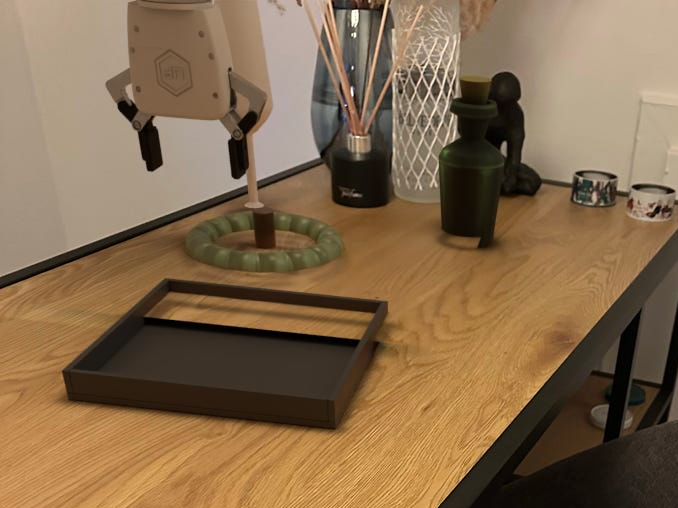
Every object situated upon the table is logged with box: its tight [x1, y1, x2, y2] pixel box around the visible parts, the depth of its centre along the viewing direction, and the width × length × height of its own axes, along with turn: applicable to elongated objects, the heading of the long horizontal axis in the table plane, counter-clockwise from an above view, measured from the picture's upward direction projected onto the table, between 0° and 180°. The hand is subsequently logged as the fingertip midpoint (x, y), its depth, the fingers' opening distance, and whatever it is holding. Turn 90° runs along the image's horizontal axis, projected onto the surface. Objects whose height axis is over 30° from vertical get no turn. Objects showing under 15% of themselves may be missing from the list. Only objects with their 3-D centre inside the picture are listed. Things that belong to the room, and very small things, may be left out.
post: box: [251, 207, 277, 250], centre depth 108 cm, size 8×8×5 cm
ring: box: [184, 211, 346, 274], centre depth 109 cm, size 18×18×3 cm
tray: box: [61, 277, 389, 430], centre depth 87 cm, size 23×23×3 cm
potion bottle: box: [437, 75, 505, 249], centre depth 114 cm, size 8×8×18 cm
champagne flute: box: [213, 0, 274, 209], centre depth 114 cm, size 7×7×24 cm
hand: (197, 172), depth 105 cm, fingers open, 9 cm apart
